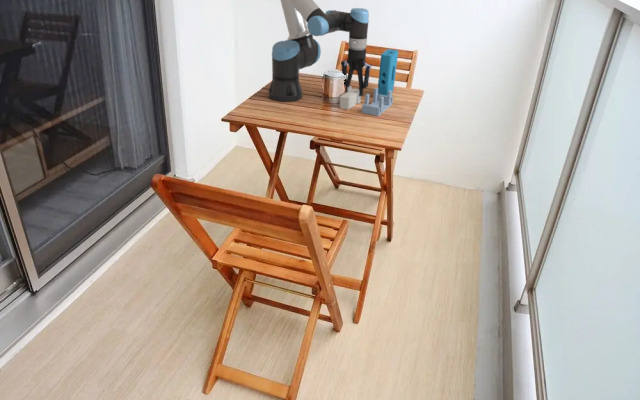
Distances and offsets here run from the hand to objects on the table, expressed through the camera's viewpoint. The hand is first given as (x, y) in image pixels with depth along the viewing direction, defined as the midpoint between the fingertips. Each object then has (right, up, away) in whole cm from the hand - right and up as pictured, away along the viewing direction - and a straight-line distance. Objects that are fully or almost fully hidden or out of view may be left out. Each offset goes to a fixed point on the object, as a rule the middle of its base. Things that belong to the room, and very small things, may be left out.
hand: (353, 101), depth 214 cm
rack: (+10, -4, -6) cm, 12 cm away
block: (+15, +4, +9) cm, 18 cm away
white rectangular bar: (-2, -2, -3) cm, 4 cm away
